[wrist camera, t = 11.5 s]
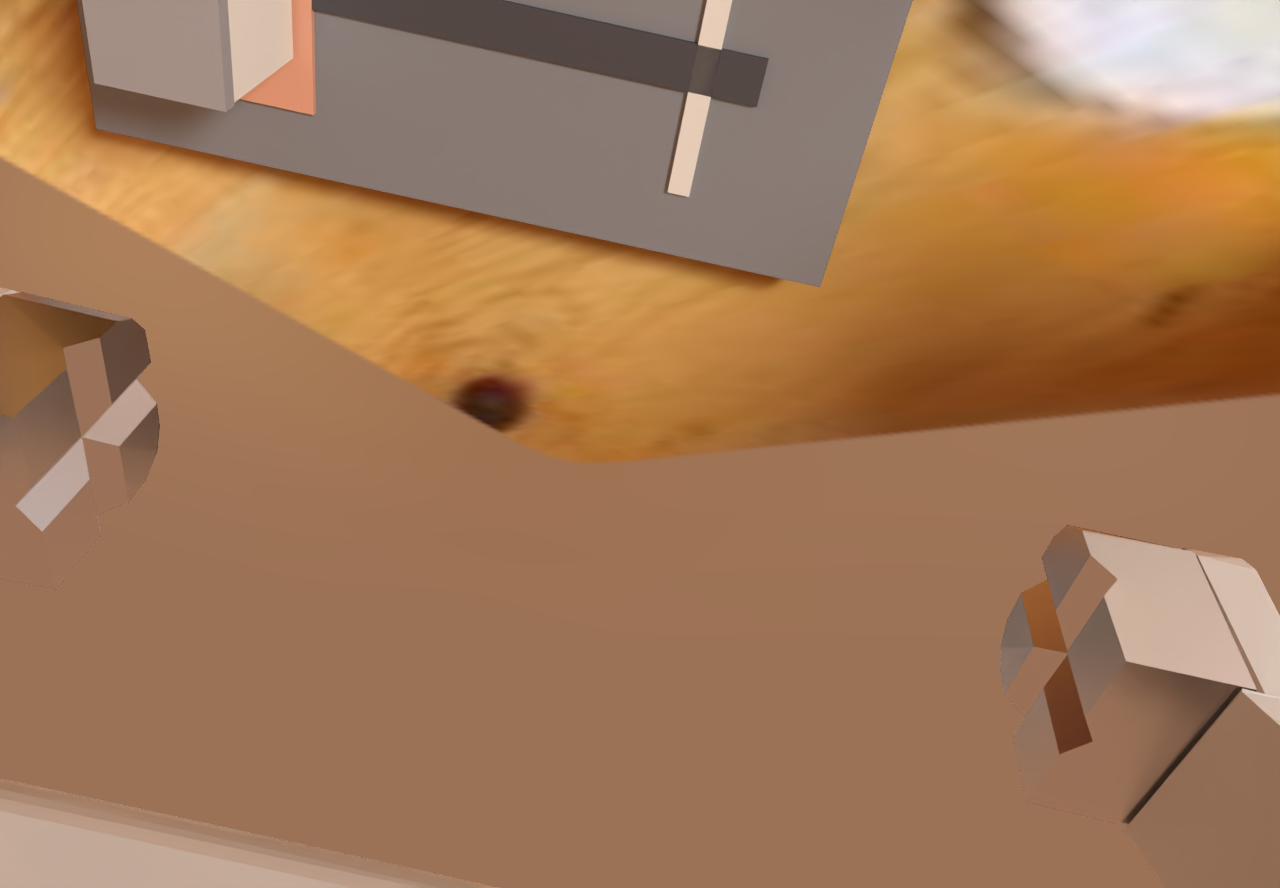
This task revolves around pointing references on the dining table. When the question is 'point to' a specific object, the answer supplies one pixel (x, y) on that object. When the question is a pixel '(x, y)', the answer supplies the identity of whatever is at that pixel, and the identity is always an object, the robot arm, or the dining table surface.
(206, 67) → the fader knob
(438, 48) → the console board
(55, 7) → the dining table surface
